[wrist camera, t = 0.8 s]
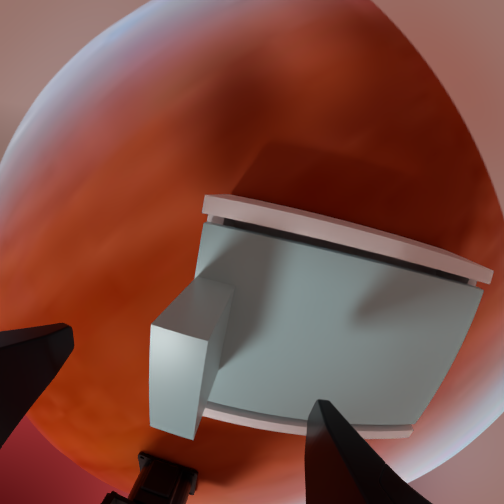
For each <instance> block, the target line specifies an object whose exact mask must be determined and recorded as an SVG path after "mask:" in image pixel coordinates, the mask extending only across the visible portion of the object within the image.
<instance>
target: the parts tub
mask: <svg viewBox="0 0 504 504" xmlns="http://www.w3.org/2000/svg"><path fill="white" fill-rule="evenodd" d="M202 213H205V214H208V218H207V221H208V222H213V223H217V224H222V225H226V226H231V227H236V228H240V229H245V230H249V231H254V232H258V233H263V234H267V235H272V236H276V237H280V238H285V239H289V240H294V241H298V242H302V243H307V244H311V245H315V246H319V247H324V248H328V249H332V250H336V251H340V252H344V253H349V254H353V255H357V256H361V257H365V258H369V259H373V260H377V261H381V262H385V263H389V264H393V265H397V266H401V267H405V268H409V269H413V270H416V271H420V272H424V273H428V274H432V275H436V276H439V277H443V278H447V279H451V280H454V281H458V282H462V283H465V284H469V285H473V286H476V283H477V281H480V282H483V283H486V284H490V282H491V279H492V276H493V272H494V271H493V270H491V269H488V268H486V267H484V266H482V265H479V264H477V263H475V262H473V261H470V260H468V259H466V258H463V257H461V256H459V255H456V254H454V253H452V252H449V251H447V250H444V249H441V248H438V247H434V246H431V245H428V244H425V243H422V242H418V241H415V240H412V239H409V238H405V237H402V236H398V235H395V234H392V233H388V232H385V231H381V230H377V229H374V228H370V227H367V226H363V225H359V224H355V223H352V222H348V221H344V220H340V219H336V218H332V217H328V216H324V215H320V214H316V213H312V212H308V211H304V210H300V209H295V208H291V207H287V206H282V205H278V204H274V203H269V202H264V201H260V200H255V199H250V198H246V197H241V196H236V195H231V194H217V195H205V198H204V203H203V209H202ZM202 416H205V417H209V418H213V419H217V420H221V421H225V422H229V423H233V424H238V425H243V426H248V427H253V428H258V429H263V430H269V431H276V432H282V433H289V434H297V435H306V433H307V420H303V419H295V418H288V417H282V416H276V415H270V414H264V413H259V412H254V411H249V410H244V409H240V408H235V407H231V406H227V405H222V404H218V403H215V402H211V401H207V404H206V407H205V409H204V412H203V415H202ZM351 426H352V427H353V428H354V429H355V430H356V431H357V432H358V433H359V434H360V435H361V437H362V438H363V439H394V438H409V436H410V435H411V434H412V432H413V431H414V429H413V427H412V425H411V424H403V425H367V424H351Z"/></svg>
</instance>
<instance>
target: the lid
mask: <svg viewBox="0 0 504 504" xmlns="http://www.w3.org/2000/svg"><path fill="white" fill-rule="evenodd" d="M483 292H484V290H482V289H480V288H479V287H476V286H473V285H469V284H465V283H462V282H458V281H454V280H451V279H447V278H443V277H439V276H436V275H432V274H428V273H424V272H420V271H416V270H413V269H409V268H405V267H401V266H397V265H393V264H389V263H385V262H381V261H377V260H373V259H369V258H365V257H361V256H357V255H353V254H349V253H344V252H340V251H336V250H332V249H328V248H324V247H319V246H315V245H311V244H307V243H302V242H298V241H294V240H289V239H285V238H280V237H276V236H272V235H267V234H263V233H258V232H254V231H249V230H245V229H240V228H236V227H231V226H226V225H222V224H217V223H213V222H208V221H207V222H205V223H204V224H203V230H202V236H201V241H200V247H199V253H198V260H197V266H196V272H195V279H194V280H193V281H192V282H191V283H190V284H189V285H188V286H187V287H186V288H185V289H184V290H183V291H182V293H181V294H180V295H179V296H178V297H177V298H176V299H175V300H174V301H173V302H172V303H171V304H170V305H169V306H168V307H167V308H166V309H165V310H164V311H163V312H162V313H161V314H160V315H159V316H158V318H157V319H156V320H155V321H154V322H153V323H152V324H151V334H150V364H149V404H150V426H152V427H154V428H157V429H160V430H163V431H166V432H168V433H171V434H175V435H178V436H181V437H184V438H187V439H191V440H194V437H195V434H196V431H197V429H198V426H199V423H200V420H201V418H202V415H203V412H204V409H205V407H206V404H207V401H211V402H215V403H218V404H222V405H227V406H231V407H235V408H240V409H244V410H249V411H254V412H259V413H264V414H270V415H276V416H282V417H288V418H295V419H303V420H308V416H309V414H310V412H311V410H312V408H313V406H314V403H315V402H316V400H318V399H324V400H329V401H330V402H331V403H332V404H333V405H334V406H335V407H336V409H337V410H338V411H339V412H340V413H341V414H342V415H343V417H344V418H345V419H346V420H347V421H348V422H349V423H350V424H367V425H403V424H415V423H416V422H417V420H418V419H419V418H420V416H421V415H422V413H423V412H424V410H425V409H426V407H427V406H428V404H429V403H430V401H431V399H432V398H433V396H434V395H435V393H436V391H437V390H438V388H439V386H440V385H441V383H442V381H443V380H444V378H445V376H446V374H447V372H448V371H449V369H450V367H451V365H452V363H453V361H454V359H455V357H456V355H457V353H458V351H459V349H460V347H461V345H462V343H463V341H464V339H465V337H466V334H467V332H468V330H469V328H470V325H471V323H472V320H473V318H474V316H475V313H476V311H477V308H478V305H479V303H480V300H481V297H482V294H483Z"/></svg>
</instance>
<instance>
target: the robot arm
mask: <svg viewBox="0 0 504 504" xmlns="http://www.w3.org/2000/svg"><path fill="white" fill-rule="evenodd" d="M73 349H74V338H73V330H72V327H71V326H69V325H67V324H65V323H57V324H51V325H44V326H37V327H31V328H23V329H16V330H9V331H1V332H0V449H1V447H2V445H3V444H4V443H5V441H6V440H7V438H8V437H9V436H10V434H11V433H12V431H13V430H14V429H15V427H16V426H17V425H18V423H19V422H20V421H21V419H22V418H23V417H24V415H25V414H26V413H27V411H28V410H29V409H30V408H31V406H32V405H33V404H34V402H35V401H36V400H37V399H38V397H39V396H40V395H41V394H42V392H43V391H44V390H45V389H46V387H47V386H48V385H49V384H50V382H51V381H52V380H53V379H54V377H55V376H56V375H57V373H58V372H59V370H60V369H61V367H62V366H63V364H64V363H65V361H66V360H67V358H68V357H69V355H70V354H71V352H72V351H73ZM138 460H139V466H140V474H139V476H138V478H137V480H136V482H135V484H134V486H133V488H132V490H131V492H130V494H129V496H128V498H125V497H123V496H121V495H119V494H117V493H116V492H114V491H112V492H111V494H110V493H107V495H106V497H105V498H104V500H103V502H102V503H101V504H186V501H187V498H188V495H194V493H195V487H196V482H197V476H198V472H197V471H196V470H193V469H189V468H186V467H182V466H179V465H176V464H173V463H170V462H167V461H164V460H161V459H158V458H155V457H153V456H150V455H147V454H145V453H142V452H140V453H139V454H138ZM305 486H306V504H432V503H431V502H429V501H428V500H427V499H425V498H424V497H423V496H422V495H420V494H419V493H418V492H417V491H415V490H414V489H413V488H411V487H410V486H409V485H408V484H407V483H406V482H405V481H403V480H402V479H401V478H400V477H399V476H398V475H397V474H396V473H395V472H394V471H393V470H392V469H391V468H390V467H389V466H388V465H387V464H385V461H384V460H383V459H382V458H381V457H380V456H379V455H378V454H377V453H376V452H375V451H374V450H373V449H372V448H371V446H370V445H369V444H368V443H367V442H366V441H365V440H364V439H363V438H362V437H361V435H360V434H359V433H358V432H357V431H356V430H355V429H354V428H353V427H352V426H351V424H350V423H349V422H348V421H347V420H346V419H345V418H344V417H343V415H342V414H341V413H340V412H339V411H338V410H337V409H336V407H335V406H334V405H333V404H332V403H331V402H330V401H329V400H324V399H318V400H316V402H315V403H314V406H313V408H312V410H311V412H310V414H309V416H308V420H307V433H306V445H305Z"/></svg>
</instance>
